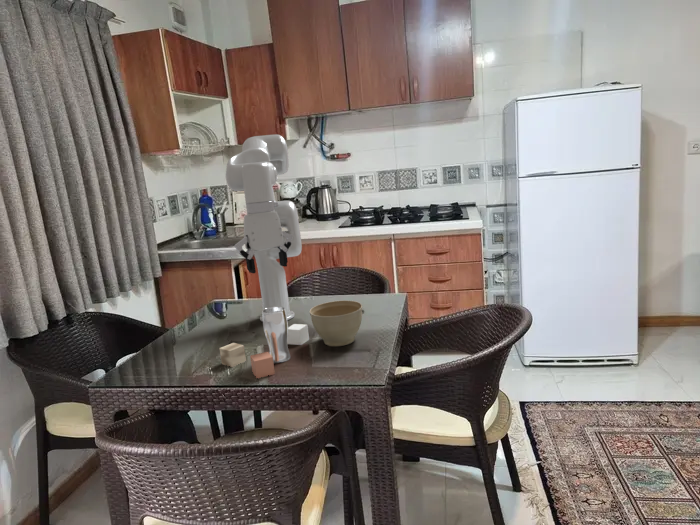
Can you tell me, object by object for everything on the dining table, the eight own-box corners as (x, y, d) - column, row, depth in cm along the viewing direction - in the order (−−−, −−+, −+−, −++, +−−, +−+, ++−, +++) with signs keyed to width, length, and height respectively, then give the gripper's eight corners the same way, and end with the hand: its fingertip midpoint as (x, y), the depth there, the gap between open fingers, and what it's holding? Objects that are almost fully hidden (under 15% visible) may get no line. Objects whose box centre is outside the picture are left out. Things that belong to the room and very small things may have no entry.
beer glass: (281, 365, 148) (274, 314, 145) (262, 361, 152) (256, 312, 149) (296, 356, 154) (290, 306, 151) (278, 353, 158) (272, 305, 155)
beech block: (221, 364, 153) (219, 348, 152) (235, 358, 157) (233, 342, 156) (232, 367, 150) (229, 351, 149) (246, 361, 154) (243, 345, 153)
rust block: (252, 372, 145) (250, 355, 144) (270, 368, 147) (267, 351, 146) (256, 378, 141) (254, 361, 140) (274, 374, 142) (272, 356, 141)
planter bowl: (315, 334, 171) (312, 302, 169) (365, 330, 170) (362, 298, 168) (310, 353, 155) (306, 317, 153) (365, 348, 154) (361, 313, 152)
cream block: (287, 344, 165) (285, 329, 164) (295, 338, 170) (294, 323, 169) (301, 345, 163) (299, 329, 162) (309, 339, 167) (307, 324, 166)
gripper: (282, 204, 152) (289, 262, 155) (225, 212, 143) (234, 273, 146) (294, 204, 146) (301, 265, 149) (235, 213, 137) (244, 277, 140)
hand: (268, 269), depth 147 cm, fingers open, 9 cm apart
